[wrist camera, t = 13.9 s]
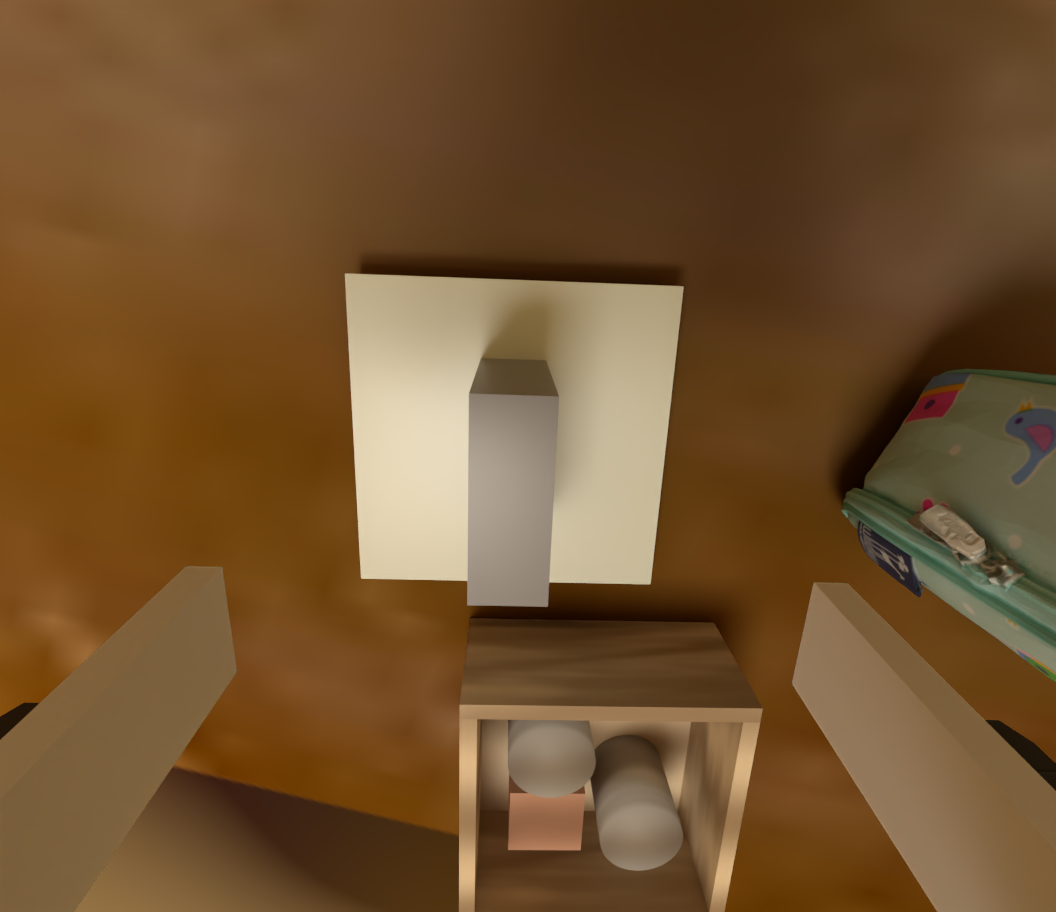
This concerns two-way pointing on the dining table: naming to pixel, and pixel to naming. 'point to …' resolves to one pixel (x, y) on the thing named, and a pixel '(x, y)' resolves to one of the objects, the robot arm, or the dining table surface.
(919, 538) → the lunch box
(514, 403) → the lid
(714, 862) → the crate
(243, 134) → the dining table surface
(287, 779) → the dining table surface
